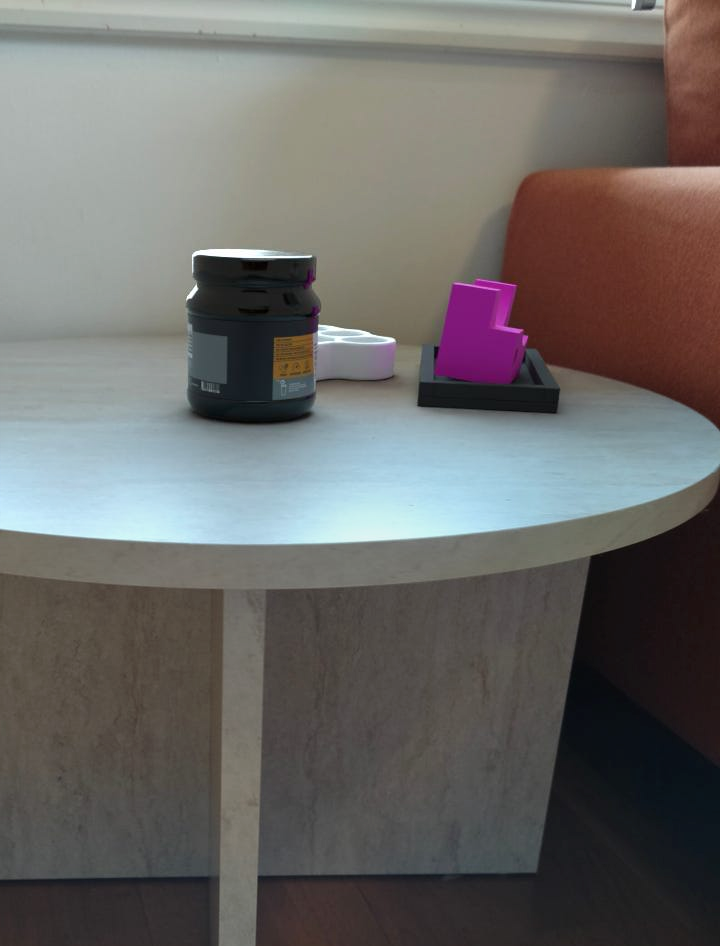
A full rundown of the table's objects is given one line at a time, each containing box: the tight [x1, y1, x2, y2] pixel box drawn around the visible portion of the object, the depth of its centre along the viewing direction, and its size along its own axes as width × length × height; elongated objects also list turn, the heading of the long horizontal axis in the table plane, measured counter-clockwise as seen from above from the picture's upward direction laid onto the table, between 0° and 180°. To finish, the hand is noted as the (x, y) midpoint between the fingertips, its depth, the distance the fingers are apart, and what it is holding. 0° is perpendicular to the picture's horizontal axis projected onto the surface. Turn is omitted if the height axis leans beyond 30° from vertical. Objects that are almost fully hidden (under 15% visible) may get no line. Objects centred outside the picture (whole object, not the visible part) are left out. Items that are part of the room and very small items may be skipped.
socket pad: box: [416, 343, 561, 414], centre depth 94 cm, size 11×21×2 cm, turn 170°
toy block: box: [434, 278, 529, 384], centre depth 92 cm, size 15×6×8 cm, turn 160°
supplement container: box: [185, 248, 322, 423], centre depth 80 cm, size 10×10×12 cm
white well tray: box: [316, 324, 397, 382], centre depth 101 cm, size 3×18×15 cm
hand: (709, 9), depth 75 cm, fingers open, 8 cm apart
